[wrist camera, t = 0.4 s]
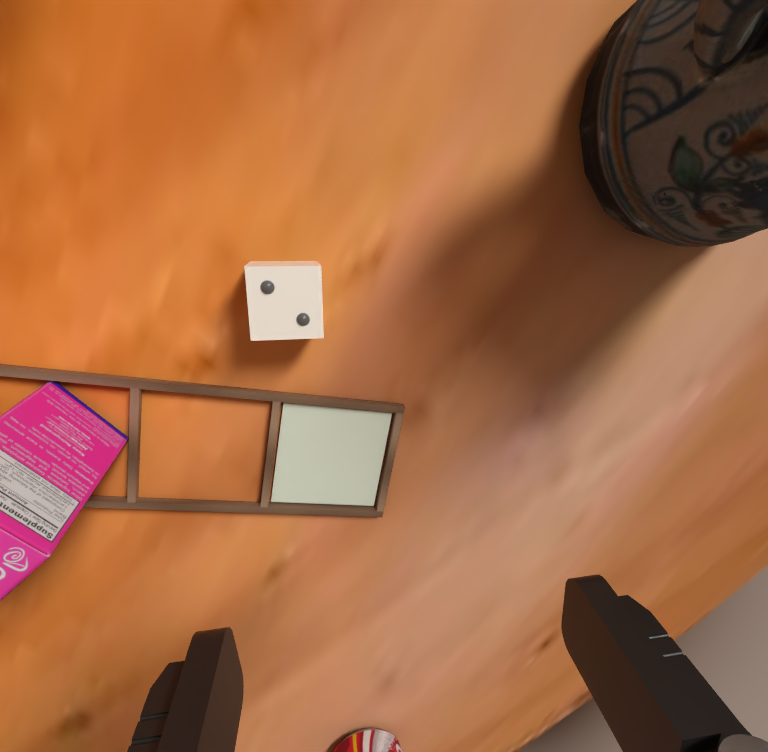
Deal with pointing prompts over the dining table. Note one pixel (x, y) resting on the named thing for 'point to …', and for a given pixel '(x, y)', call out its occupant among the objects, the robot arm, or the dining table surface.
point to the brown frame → (223, 391)
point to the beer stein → (681, 120)
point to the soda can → (369, 742)
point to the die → (284, 300)
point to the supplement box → (47, 474)
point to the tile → (329, 455)
